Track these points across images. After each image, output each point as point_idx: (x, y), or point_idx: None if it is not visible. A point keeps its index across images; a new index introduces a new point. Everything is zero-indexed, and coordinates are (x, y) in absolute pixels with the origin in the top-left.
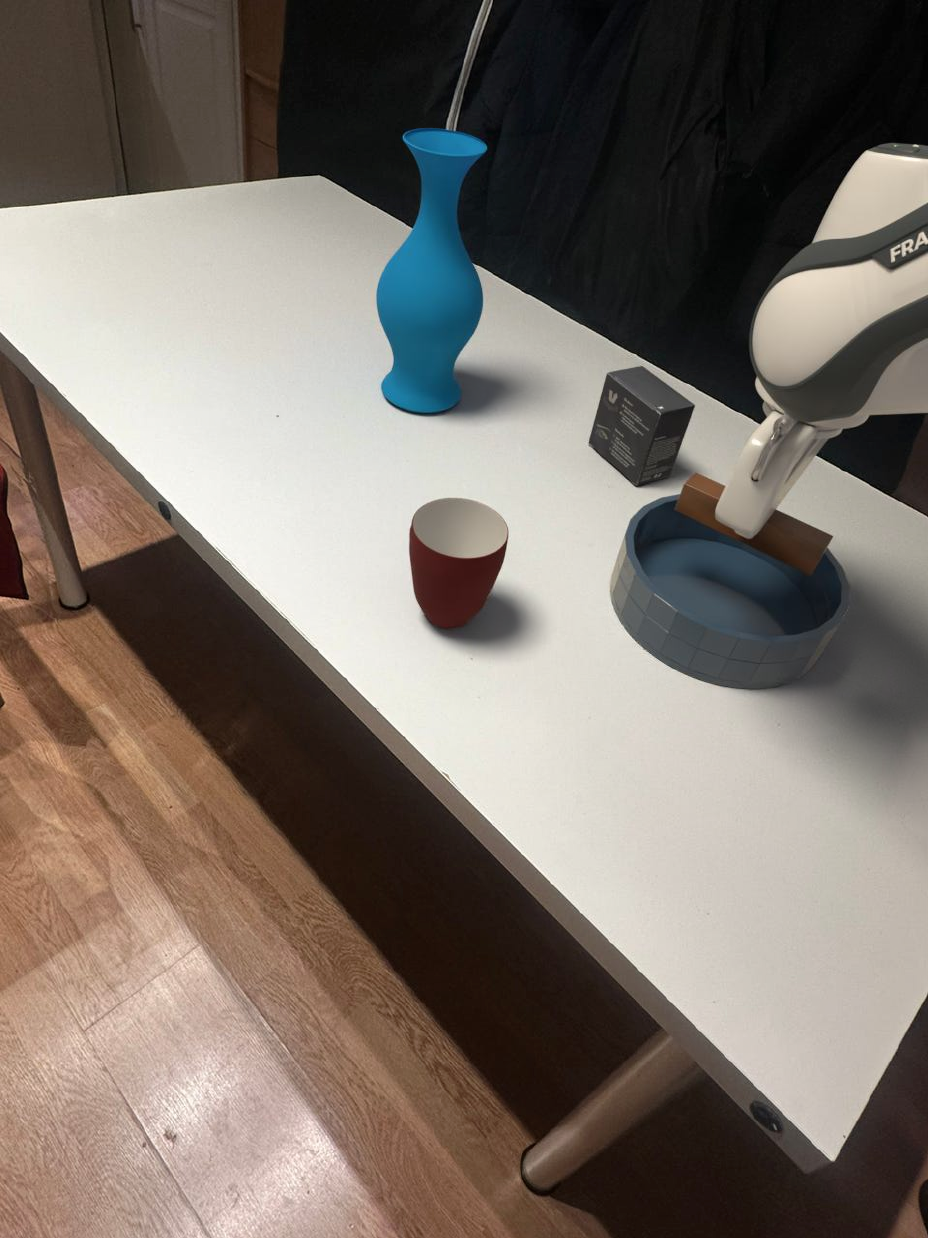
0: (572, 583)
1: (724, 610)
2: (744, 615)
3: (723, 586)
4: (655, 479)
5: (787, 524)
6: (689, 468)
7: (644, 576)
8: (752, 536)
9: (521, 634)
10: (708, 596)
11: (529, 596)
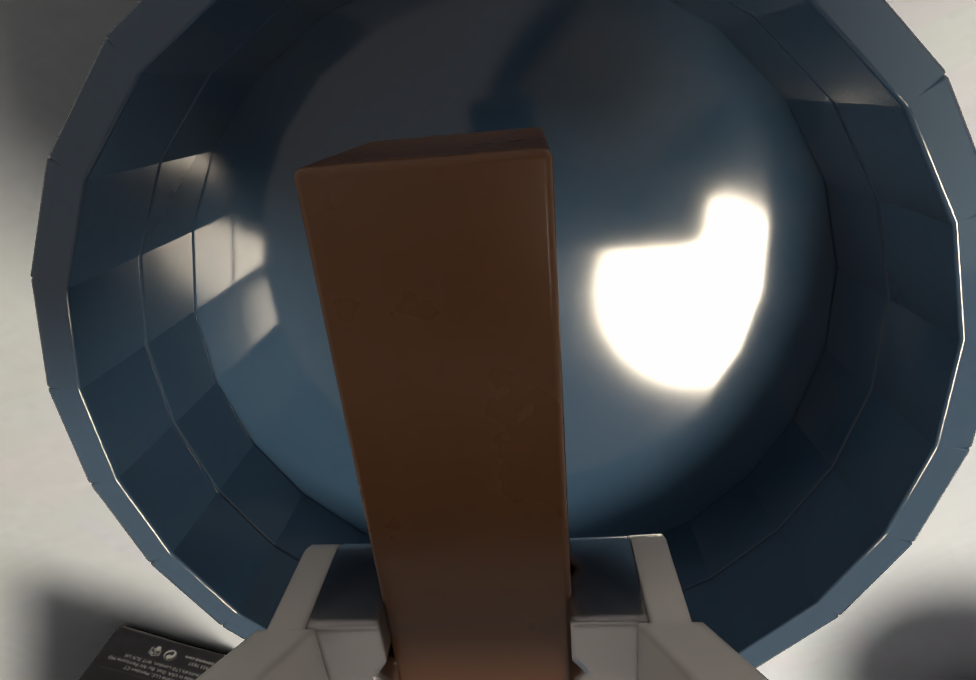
0: None
1: None
2: None
3: None
4: (173, 643)
5: (478, 482)
6: (37, 605)
7: (840, 594)
8: (666, 544)
9: (950, 596)
10: None
11: (810, 638)
